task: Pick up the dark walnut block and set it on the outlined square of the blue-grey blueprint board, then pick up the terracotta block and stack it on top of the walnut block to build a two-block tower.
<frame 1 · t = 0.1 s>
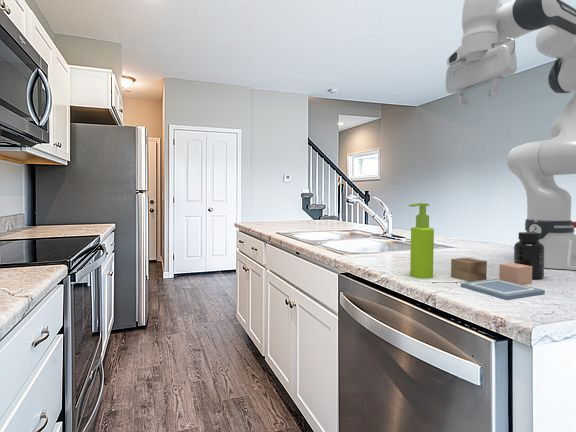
hand: (477, 101, 100), 48 cm above the worktop, fingers open, 8 cm apart
terracotta block: (515, 282, 92), on the worktop
walnut block: (468, 278, 97), on the worktop
blueprint board: (501, 290, 85), on the worktop
supplement bottle: (528, 277, 98), on the worktop
soap dispenser: (419, 276, 100), on the worktop
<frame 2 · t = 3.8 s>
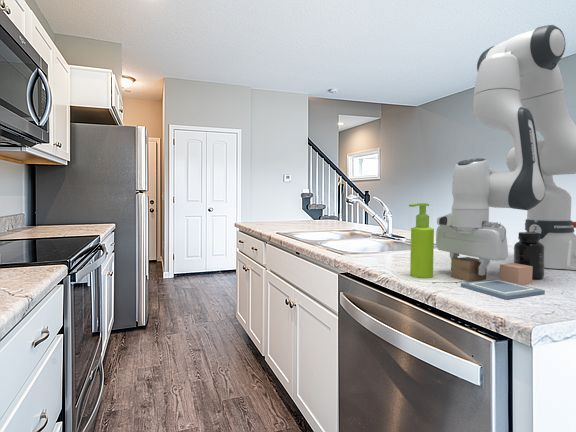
hand: (468, 272, 97), 2 cm above the worktop, fingers closed on walnut block, 6 cm apart
walnut block: (468, 278, 97), on the worktop, touching gripper
everything else where it was.
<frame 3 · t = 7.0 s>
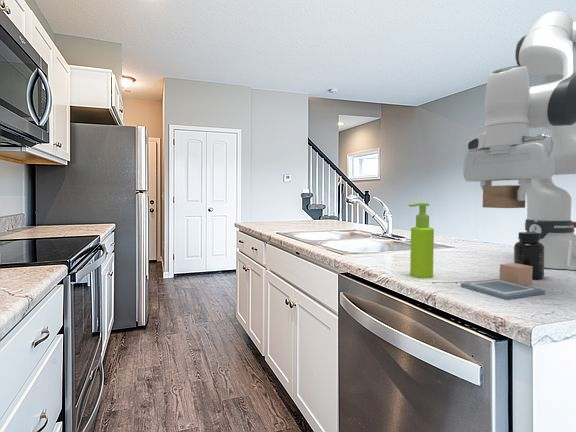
hand: (503, 200, 83), 21 cm above the worktop, fingers closed on walnut block, 6 cm apart
walnut block: (503, 207, 83), point 19 cm above the worktop, touching gripper
everything else where it was.
when the fingers open (4 cm above the worktop, at t = 10.6 s): walnut block drops 1 cm, resting on blueprint board.
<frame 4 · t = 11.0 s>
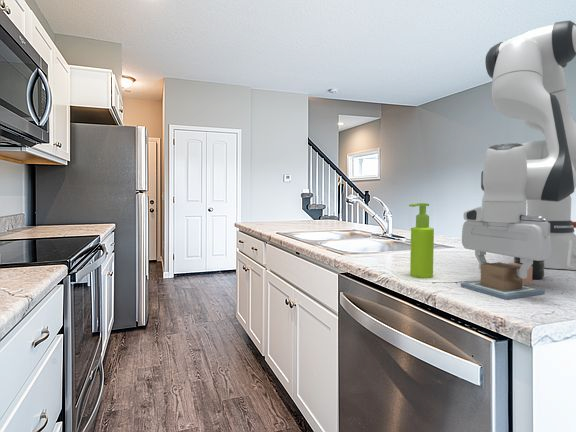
hand: (501, 273, 84), 4 cm above the worktop, fingers open, 8 cm apart
walnut block: (500, 286, 85), point 1 cm above the worktop, touching blueprint board
everything else where it was.
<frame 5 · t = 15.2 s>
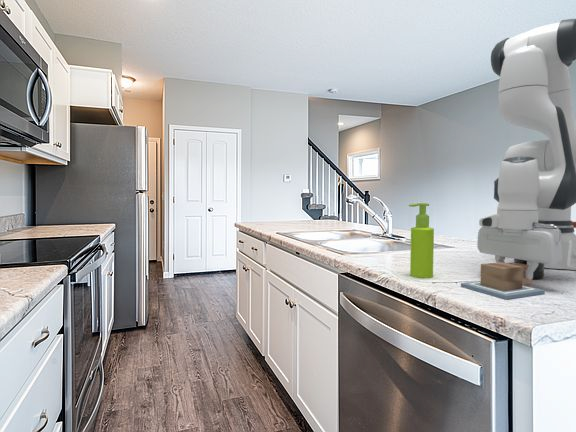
hand: (515, 276, 92), 2 cm above the worktop, fingers closed on terracotta block, 5 cm apart
terracotta block: (515, 282, 92), on the worktop, touching gripper
everything else where it was.
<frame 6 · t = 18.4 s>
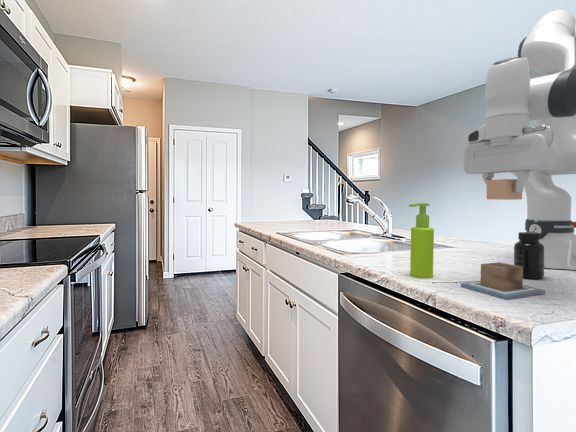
hand: (504, 192, 83), 23 cm above the worktop, fingers closed on terracotta block, 5 cm apart
terracotta block: (503, 199, 83), point 21 cm above the worktop, touching gripper
everything else where it was.
when the fingers open (9 cm above the worktop, at t = 22.0 s): terracotta block drops 1 cm, resting on walnut block.
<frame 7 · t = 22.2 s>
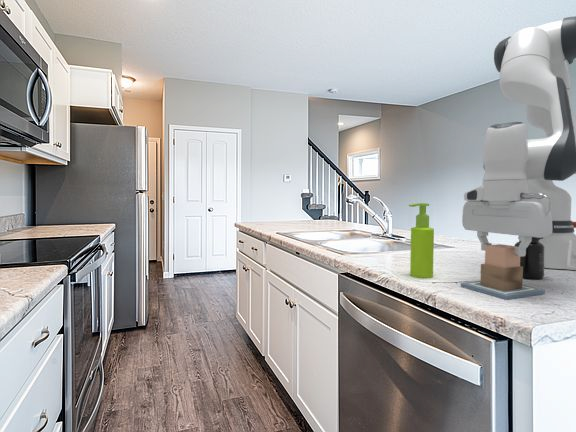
hand: (502, 253, 84), 9 cm above the worktop, fingers open, 7 cm apart
terracotta block: (502, 265, 84), point 6 cm above the worktop, touching walnut block
walnut block: (500, 286, 85), point 1 cm above the worktop, touching blueprint board, terracotta block
everything else where it was.
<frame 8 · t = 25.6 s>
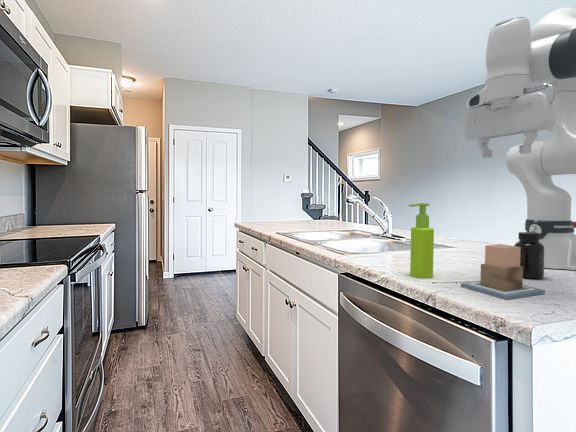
hand: (505, 155, 83), 31 cm above the worktop, fingers open, 8 cm apart
nothing on the worktop moved.
at the end: walnut block 0.1 cm off-centre on the blueprint board, point 0.8 cm above the blueprint board's base; terracotta block 0.1 cm off-centre on the walnut block, point 5.0 cm above the walnut block's base; terracotta block tilted 0° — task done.
